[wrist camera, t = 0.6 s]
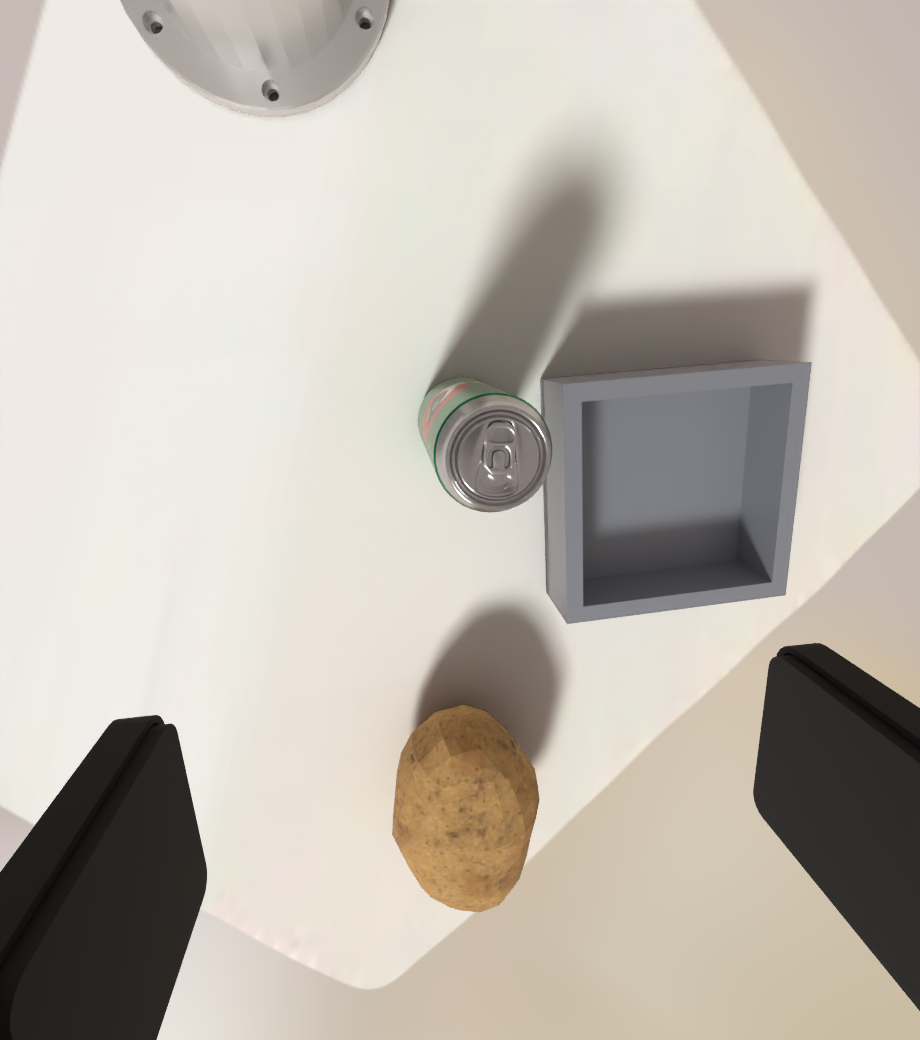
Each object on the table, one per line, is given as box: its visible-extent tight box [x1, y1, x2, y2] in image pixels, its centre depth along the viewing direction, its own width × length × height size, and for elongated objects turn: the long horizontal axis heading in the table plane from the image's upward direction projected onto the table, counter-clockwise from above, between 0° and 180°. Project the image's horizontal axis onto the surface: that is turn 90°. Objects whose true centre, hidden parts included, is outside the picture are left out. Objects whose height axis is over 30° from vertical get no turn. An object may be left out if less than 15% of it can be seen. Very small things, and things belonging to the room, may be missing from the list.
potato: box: [392, 705, 539, 912], centre depth 38 cm, size 10×14×8 cm
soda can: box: [418, 377, 552, 512], centre depth 29 cm, size 5×5×12 cm
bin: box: [540, 360, 812, 624], centre depth 35 cm, size 14×14×4 cm
